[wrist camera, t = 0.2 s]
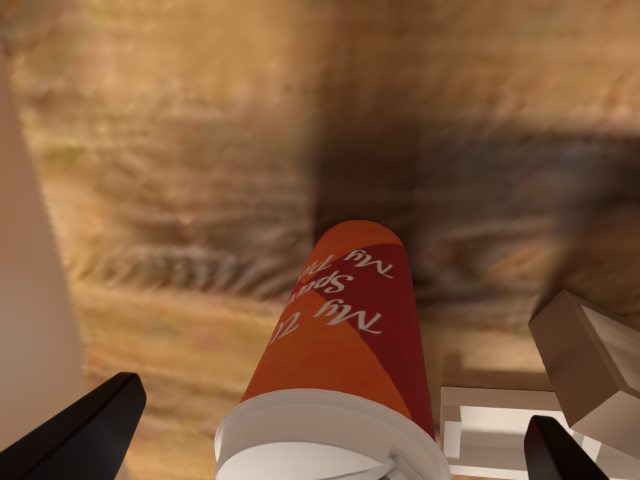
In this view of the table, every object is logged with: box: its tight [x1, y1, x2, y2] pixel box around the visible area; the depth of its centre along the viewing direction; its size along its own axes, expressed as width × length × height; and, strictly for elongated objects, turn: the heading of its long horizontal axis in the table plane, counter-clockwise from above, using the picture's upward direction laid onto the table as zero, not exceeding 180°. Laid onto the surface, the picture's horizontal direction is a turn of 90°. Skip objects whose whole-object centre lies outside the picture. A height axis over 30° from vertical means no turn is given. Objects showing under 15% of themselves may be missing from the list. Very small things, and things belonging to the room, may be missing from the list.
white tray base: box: [440, 387, 640, 480], centre depth 26 cm, size 5×17×3 cm, turn 98°
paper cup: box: [215, 220, 451, 480], centre depth 18 cm, size 8×8×14 cm
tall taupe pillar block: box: [528, 289, 640, 460], centre depth 21 cm, size 6×3×7 cm, turn 68°
